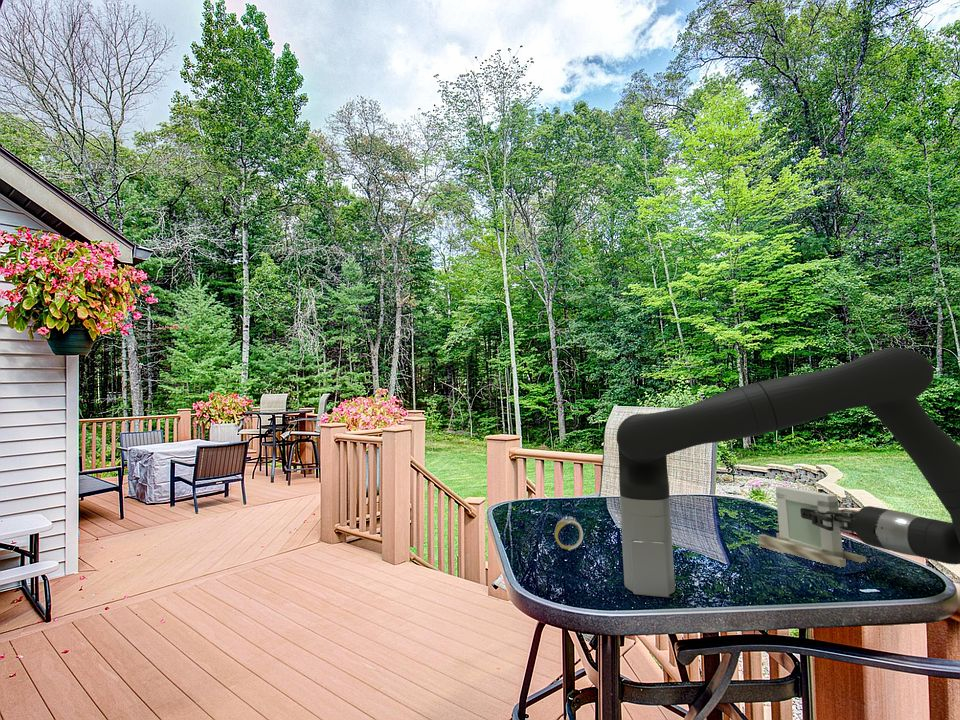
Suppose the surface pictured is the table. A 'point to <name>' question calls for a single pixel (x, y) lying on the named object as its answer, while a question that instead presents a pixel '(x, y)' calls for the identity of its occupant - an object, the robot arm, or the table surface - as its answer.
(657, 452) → the robot arm
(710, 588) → the table surface
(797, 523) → the frame
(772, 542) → the ledge
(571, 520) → the bracelet
